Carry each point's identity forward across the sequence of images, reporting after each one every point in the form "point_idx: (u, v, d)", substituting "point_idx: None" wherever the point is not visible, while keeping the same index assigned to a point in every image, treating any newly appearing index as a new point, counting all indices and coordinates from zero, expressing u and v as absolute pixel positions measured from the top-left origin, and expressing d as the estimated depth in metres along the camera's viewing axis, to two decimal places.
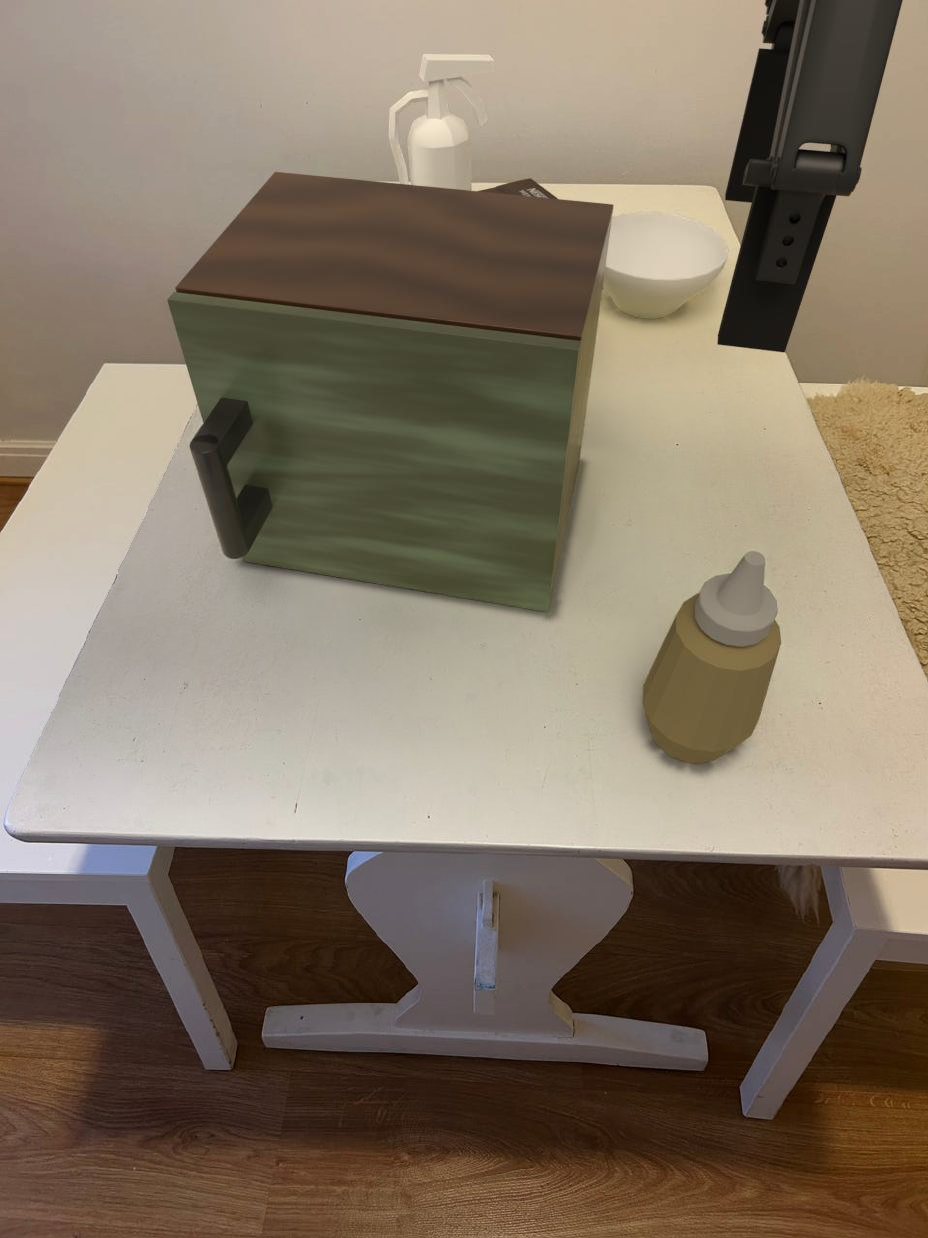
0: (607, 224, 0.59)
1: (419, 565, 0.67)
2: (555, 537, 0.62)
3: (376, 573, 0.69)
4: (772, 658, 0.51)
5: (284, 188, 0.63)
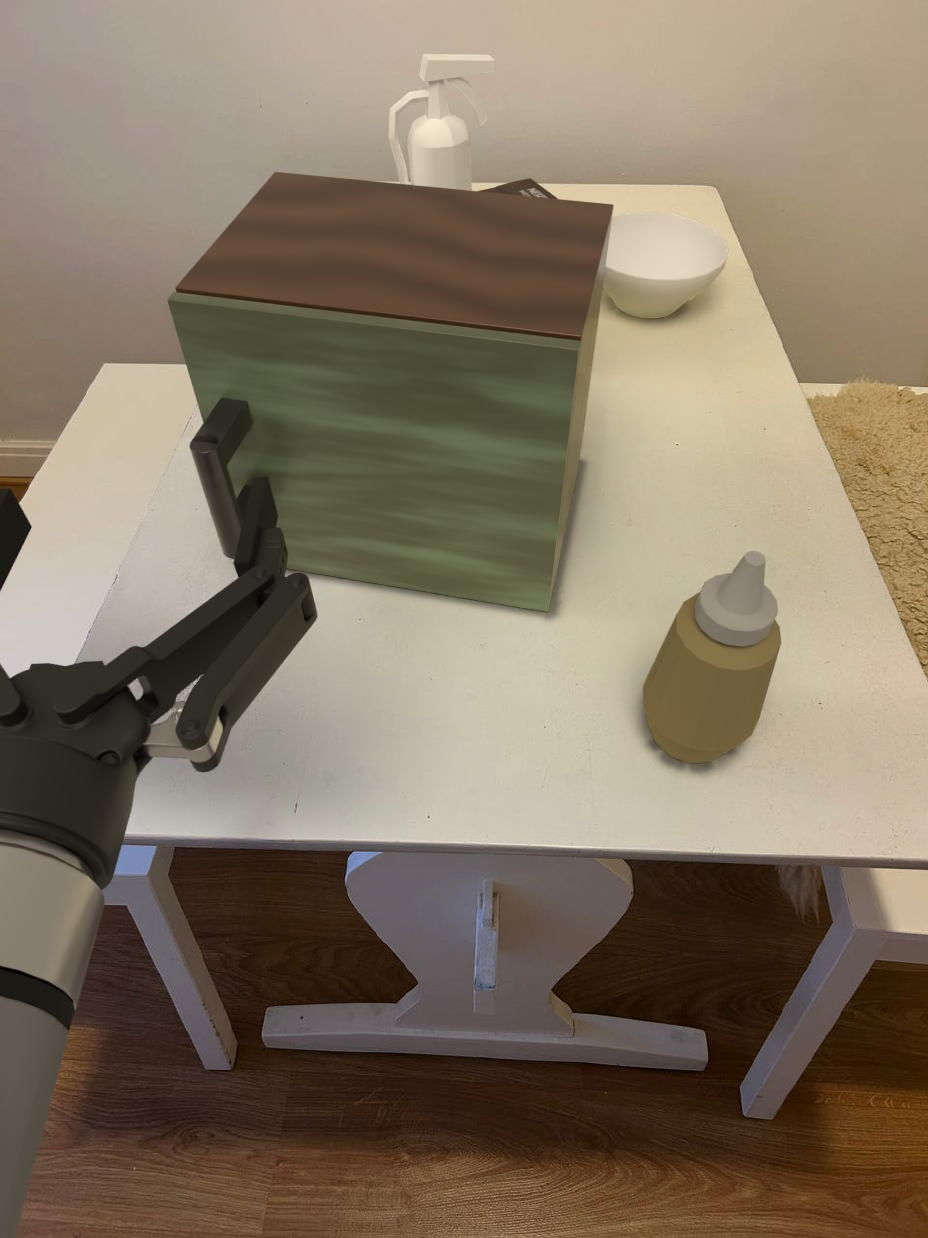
0: (607, 224, 0.59)
1: (419, 565, 0.67)
2: (555, 537, 0.62)
3: (376, 573, 0.69)
4: (772, 658, 0.51)
5: (284, 188, 0.63)
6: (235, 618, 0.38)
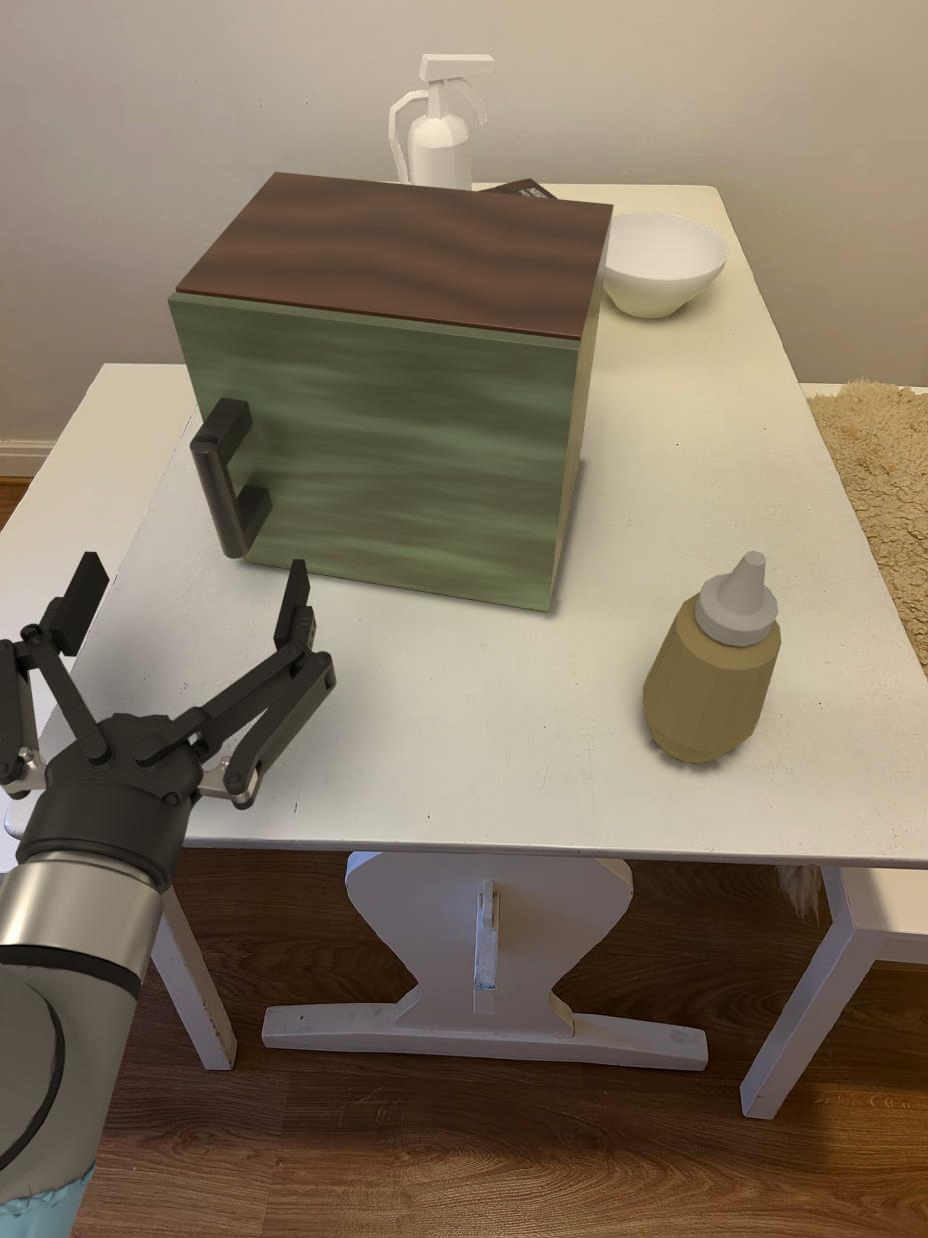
0: (607, 224, 0.59)
1: (419, 565, 0.67)
2: (555, 537, 0.62)
3: (376, 573, 0.69)
4: (772, 658, 0.51)
5: (284, 188, 0.63)
6: (272, 685, 0.49)
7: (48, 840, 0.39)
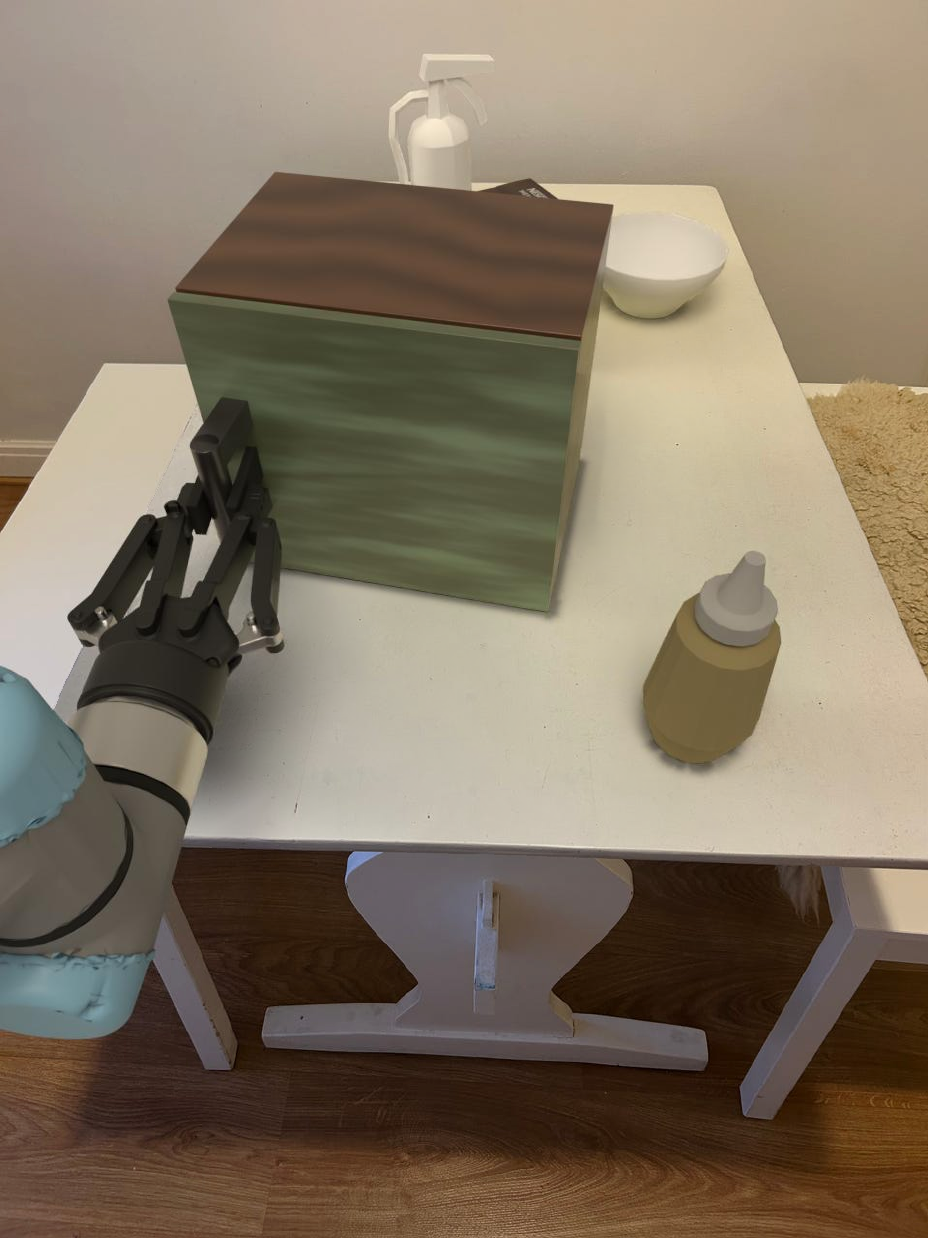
0: (607, 224, 0.59)
1: (419, 565, 0.67)
2: (555, 537, 0.62)
3: (376, 573, 0.69)
4: (772, 658, 0.51)
5: (284, 188, 0.63)
6: (243, 548, 0.56)
7: (108, 686, 0.45)
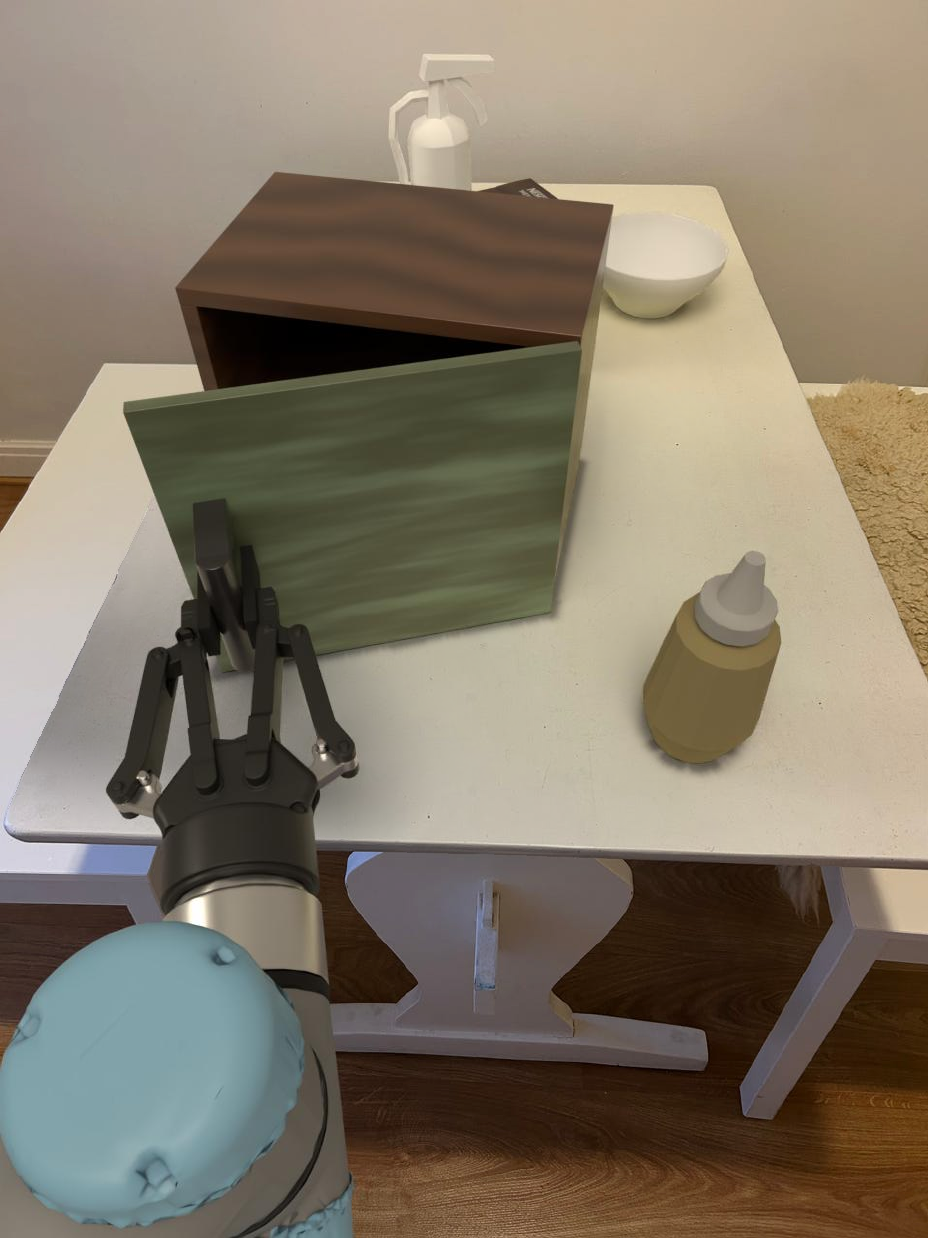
0: (607, 224, 0.59)
1: (420, 610, 0.64)
2: (558, 537, 0.62)
3: (374, 634, 0.65)
4: (772, 658, 0.51)
5: (284, 188, 0.63)
6: (277, 664, 0.49)
7: (203, 872, 0.38)
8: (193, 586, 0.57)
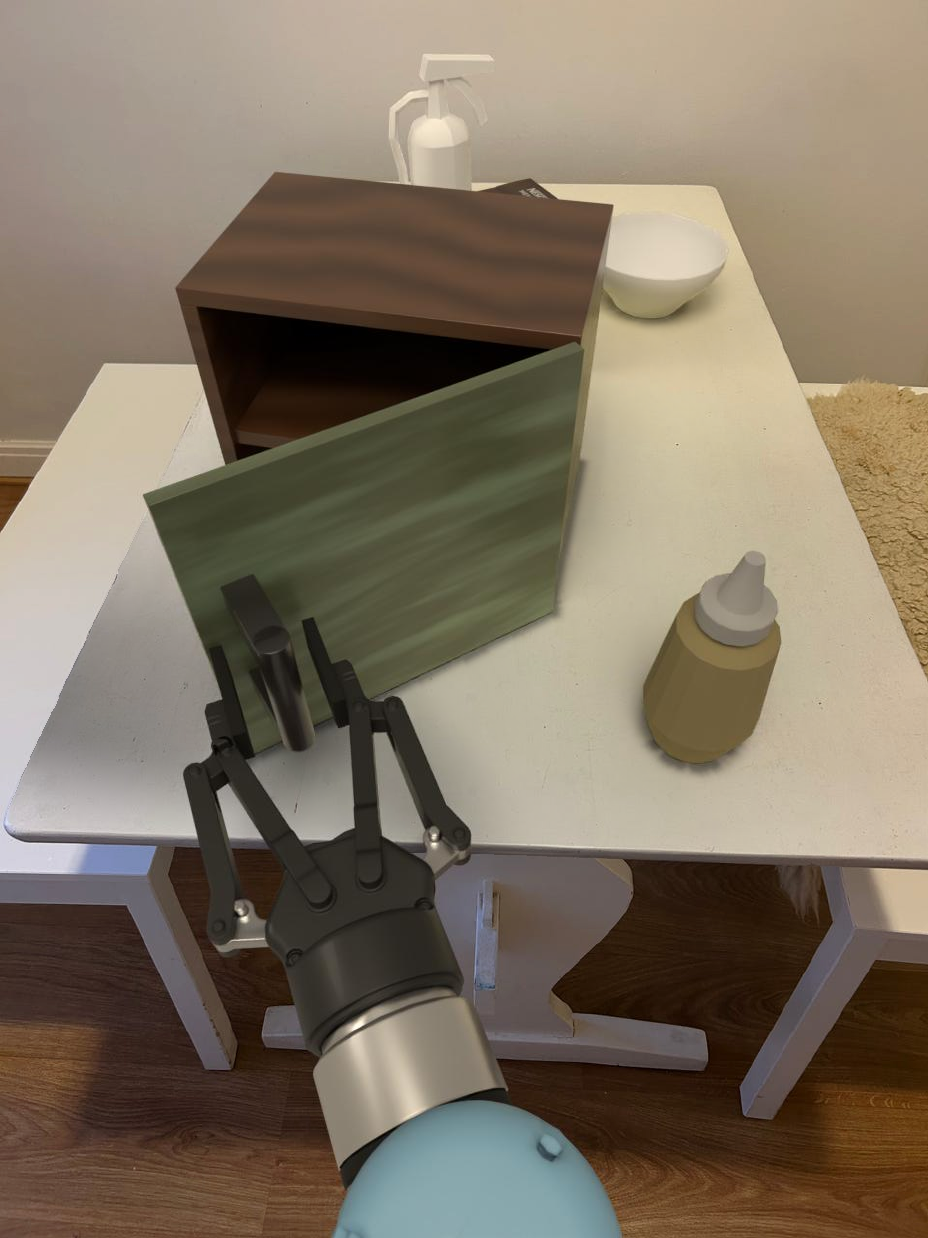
0: (607, 224, 0.59)
1: (437, 641, 0.62)
2: (560, 537, 0.62)
3: (394, 676, 0.62)
4: (772, 658, 0.51)
5: (284, 188, 0.63)
6: (373, 746, 0.46)
7: (358, 1001, 0.35)
8: None
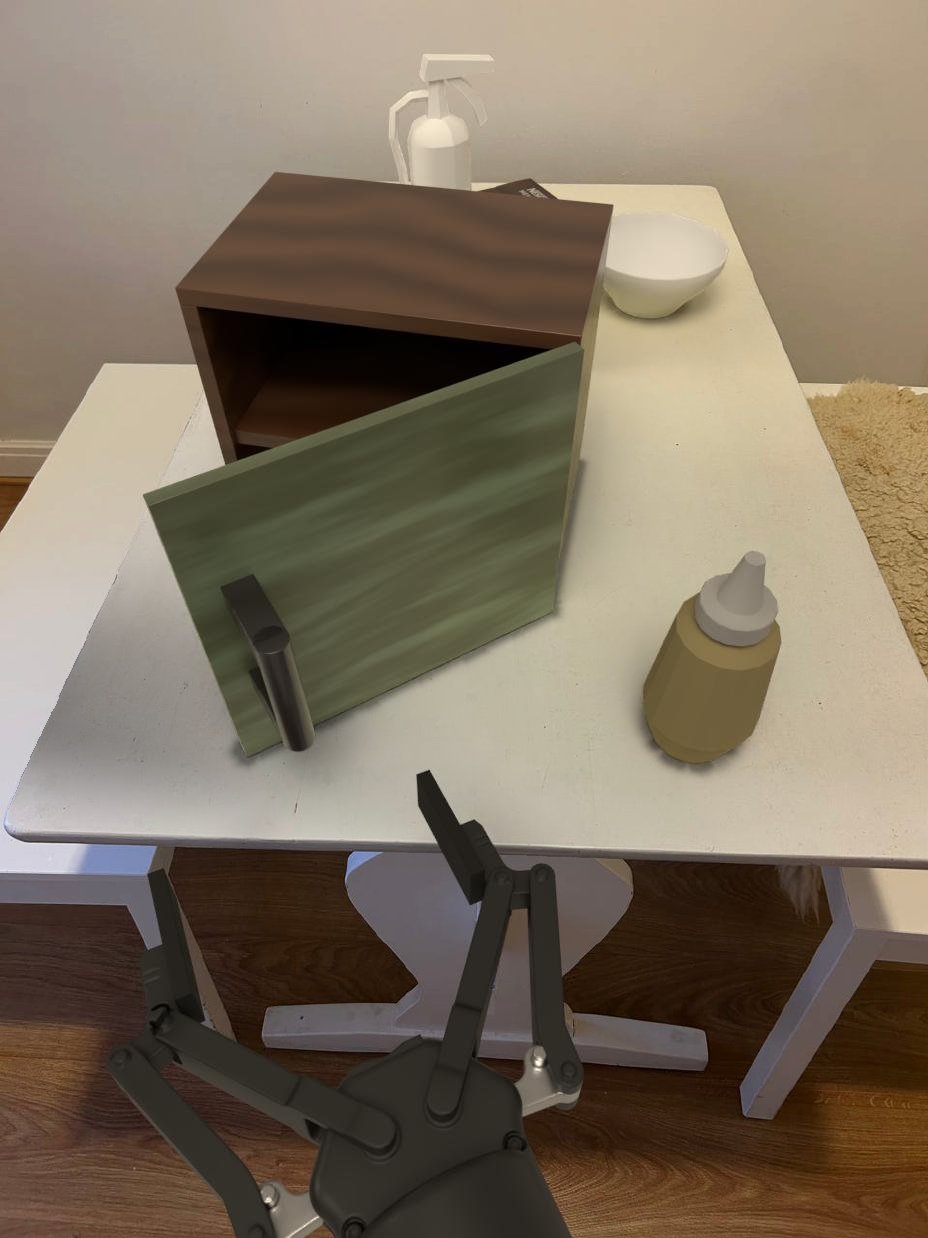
0: (607, 224, 0.59)
1: (437, 641, 0.62)
2: (560, 537, 0.62)
3: (394, 676, 0.62)
4: (772, 658, 0.51)
5: (284, 188, 0.63)
6: (503, 932, 0.38)
7: None
8: (219, 675, 0.52)
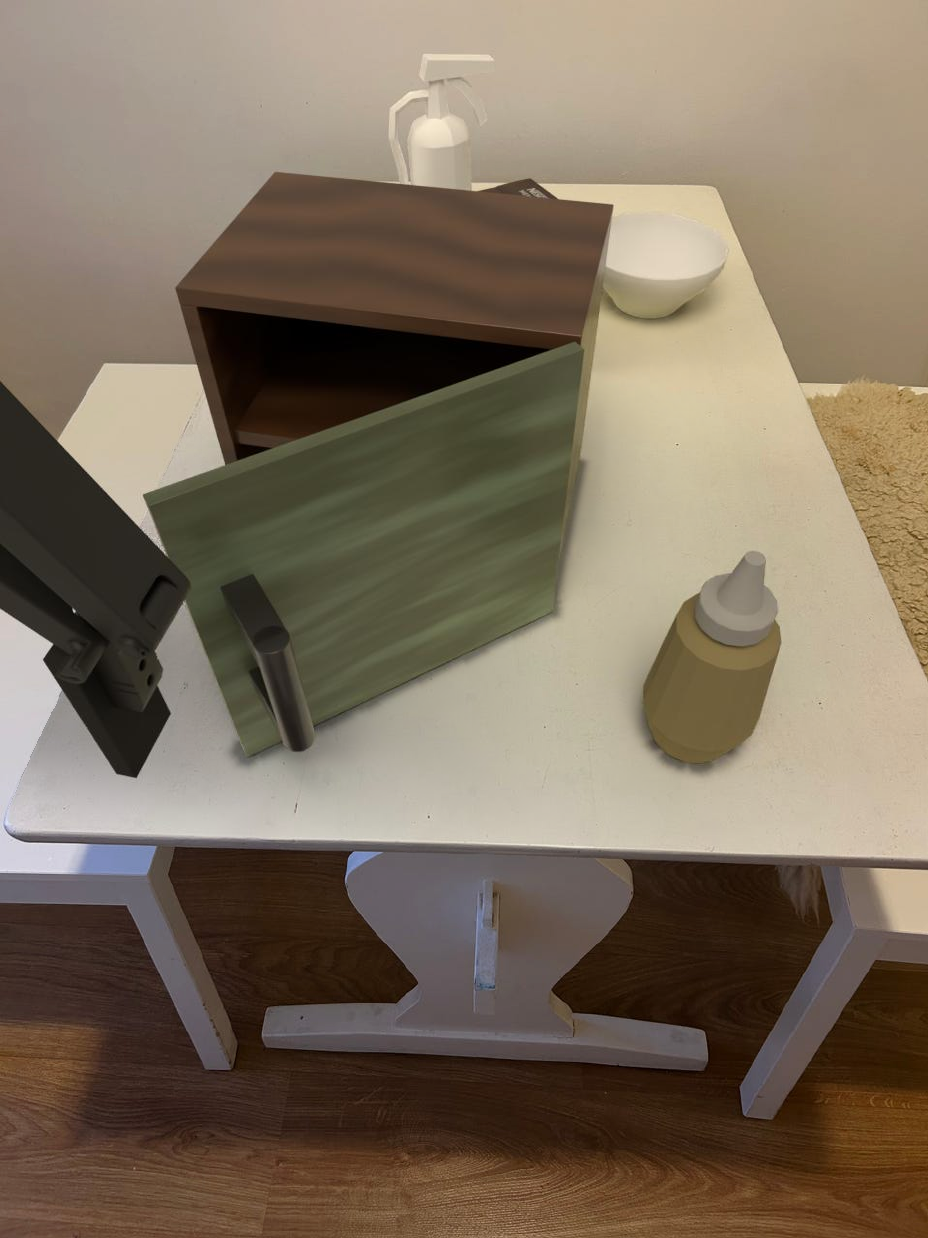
0: (607, 224, 0.59)
1: (437, 641, 0.62)
2: (560, 537, 0.62)
3: (394, 676, 0.62)
4: (772, 658, 0.51)
5: (284, 188, 0.63)
6: None
7: None
8: (219, 675, 0.52)
